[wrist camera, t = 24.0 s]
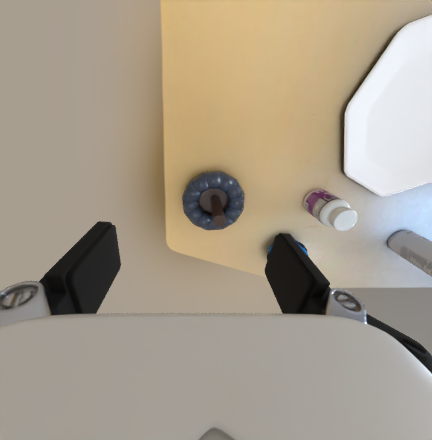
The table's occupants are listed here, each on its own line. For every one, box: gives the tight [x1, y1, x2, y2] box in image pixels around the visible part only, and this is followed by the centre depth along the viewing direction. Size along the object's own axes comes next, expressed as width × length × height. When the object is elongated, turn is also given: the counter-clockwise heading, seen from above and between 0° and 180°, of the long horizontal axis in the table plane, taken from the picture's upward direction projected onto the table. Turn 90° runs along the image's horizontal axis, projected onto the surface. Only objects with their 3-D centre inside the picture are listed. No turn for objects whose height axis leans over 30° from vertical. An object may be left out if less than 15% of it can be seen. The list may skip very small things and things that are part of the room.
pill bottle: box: [303, 189, 357, 231], centre depth 35 cm, size 5×5×10 cm
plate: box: [343, 15, 432, 197], centre depth 32 cm, size 28×28×2 cm
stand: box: [199, 171, 228, 227], centre depth 33 cm, size 8×8×10 cm
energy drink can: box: [388, 231, 432, 276], centre depth 40 cm, size 6×6×15 cm
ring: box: [182, 171, 244, 230], centre depth 35 cm, size 12×12×3 cm
